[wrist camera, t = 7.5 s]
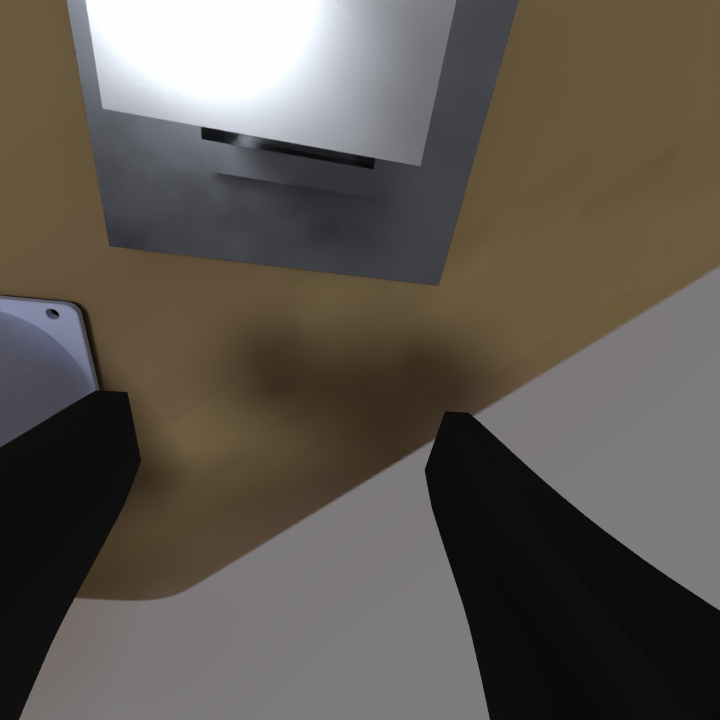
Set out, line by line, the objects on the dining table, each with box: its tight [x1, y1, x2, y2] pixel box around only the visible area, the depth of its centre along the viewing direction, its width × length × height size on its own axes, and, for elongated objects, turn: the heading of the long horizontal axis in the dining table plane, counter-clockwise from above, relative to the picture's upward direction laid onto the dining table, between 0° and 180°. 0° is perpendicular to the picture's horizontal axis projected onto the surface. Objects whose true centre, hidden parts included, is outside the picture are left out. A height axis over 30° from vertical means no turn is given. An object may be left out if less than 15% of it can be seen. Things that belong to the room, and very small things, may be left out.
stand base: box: [67, 0, 518, 286], centre depth 11 cm, size 14×14×5 cm
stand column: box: [86, 0, 456, 166], centre depth 7 cm, size 4×4×8 cm
